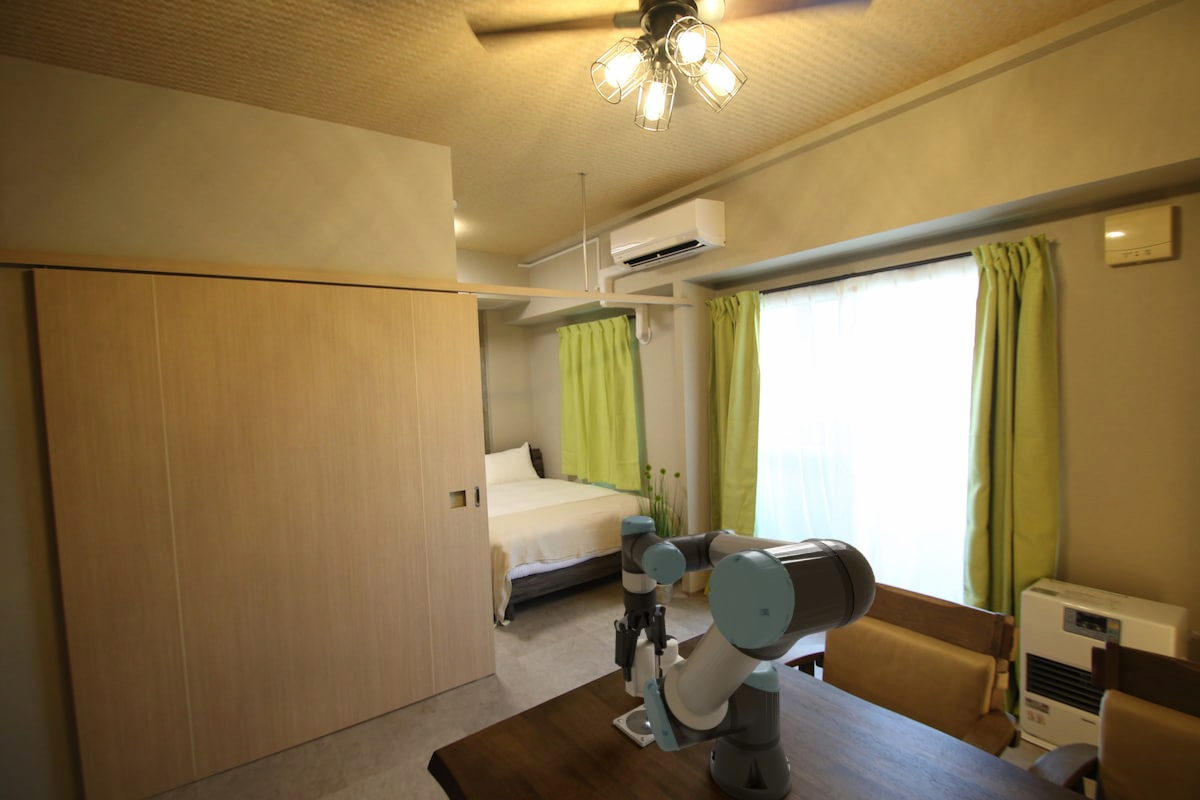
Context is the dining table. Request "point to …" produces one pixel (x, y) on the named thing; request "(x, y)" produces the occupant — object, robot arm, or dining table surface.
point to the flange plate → (636, 725)
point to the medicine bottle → (669, 656)
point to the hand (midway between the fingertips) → (642, 687)
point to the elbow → (644, 664)
